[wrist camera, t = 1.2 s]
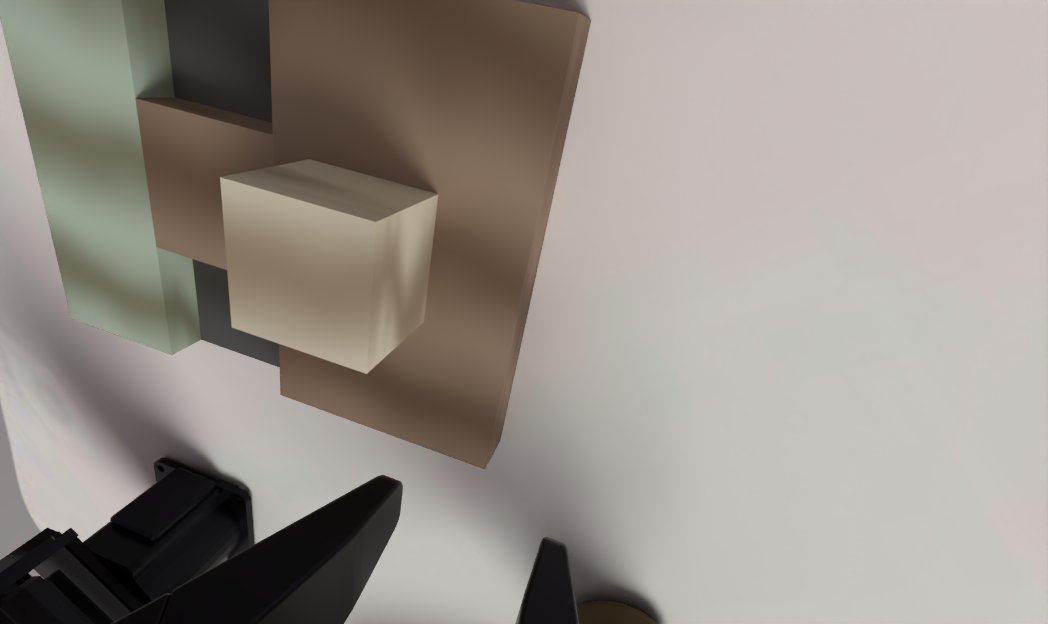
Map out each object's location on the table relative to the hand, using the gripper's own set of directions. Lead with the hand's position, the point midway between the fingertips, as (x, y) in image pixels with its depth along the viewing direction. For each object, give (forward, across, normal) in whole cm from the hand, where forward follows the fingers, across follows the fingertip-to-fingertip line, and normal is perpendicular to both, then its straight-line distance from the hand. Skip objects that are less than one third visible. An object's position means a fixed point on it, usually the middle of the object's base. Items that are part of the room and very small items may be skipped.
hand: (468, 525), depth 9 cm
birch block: (+10, +8, 0) cm, 13 cm away
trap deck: (+12, +13, 0) cm, 18 cm away
